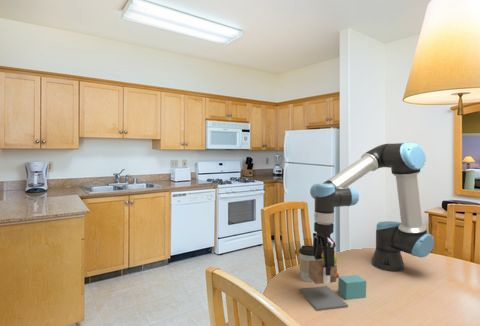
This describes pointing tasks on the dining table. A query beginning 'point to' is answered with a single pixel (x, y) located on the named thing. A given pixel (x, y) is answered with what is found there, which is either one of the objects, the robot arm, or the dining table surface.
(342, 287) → the teal brick
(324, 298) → the mat
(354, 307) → the dining table surface
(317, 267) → the walnut brick
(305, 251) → the coffee cup
